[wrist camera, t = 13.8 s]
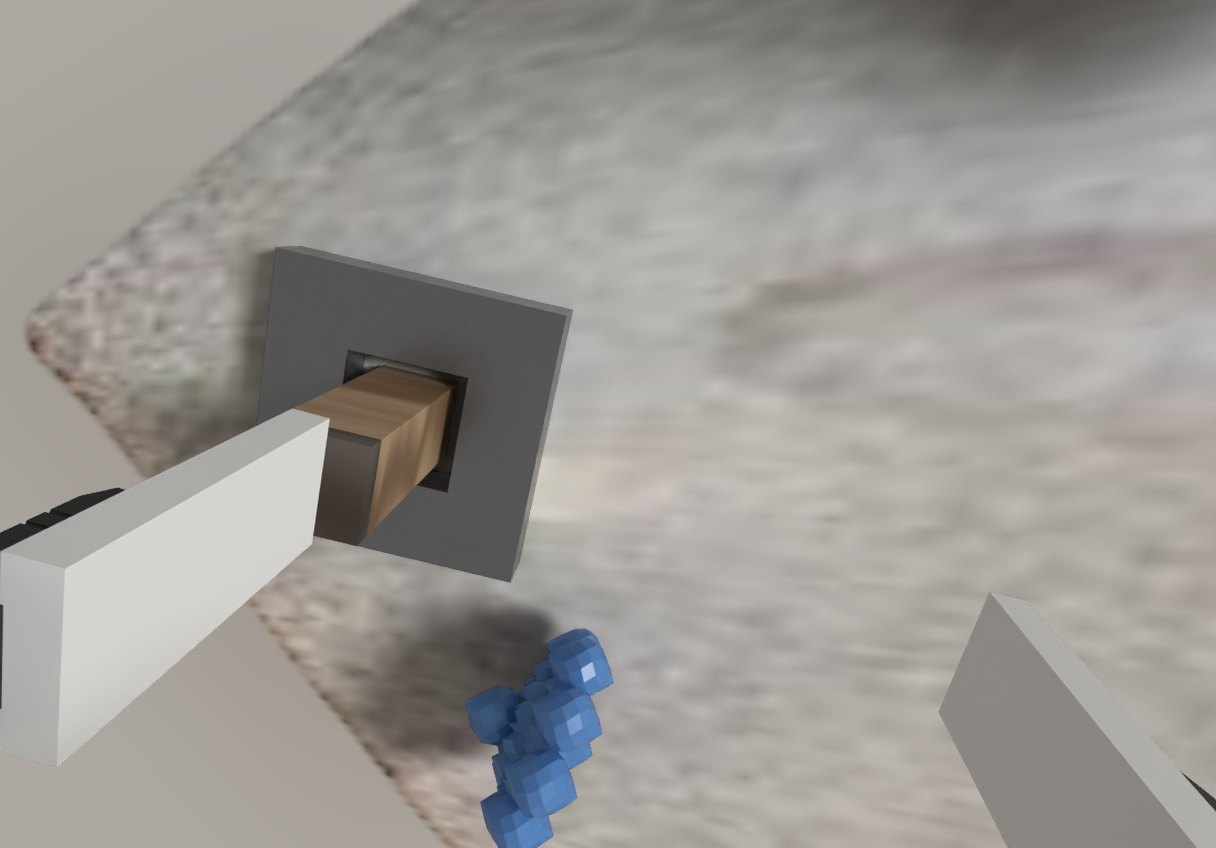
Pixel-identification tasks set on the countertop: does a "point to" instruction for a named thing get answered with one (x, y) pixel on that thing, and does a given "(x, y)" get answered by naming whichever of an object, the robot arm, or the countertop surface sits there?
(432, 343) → the gray square hole plate
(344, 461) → the wooden block
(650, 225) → the countertop surface
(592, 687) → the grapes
